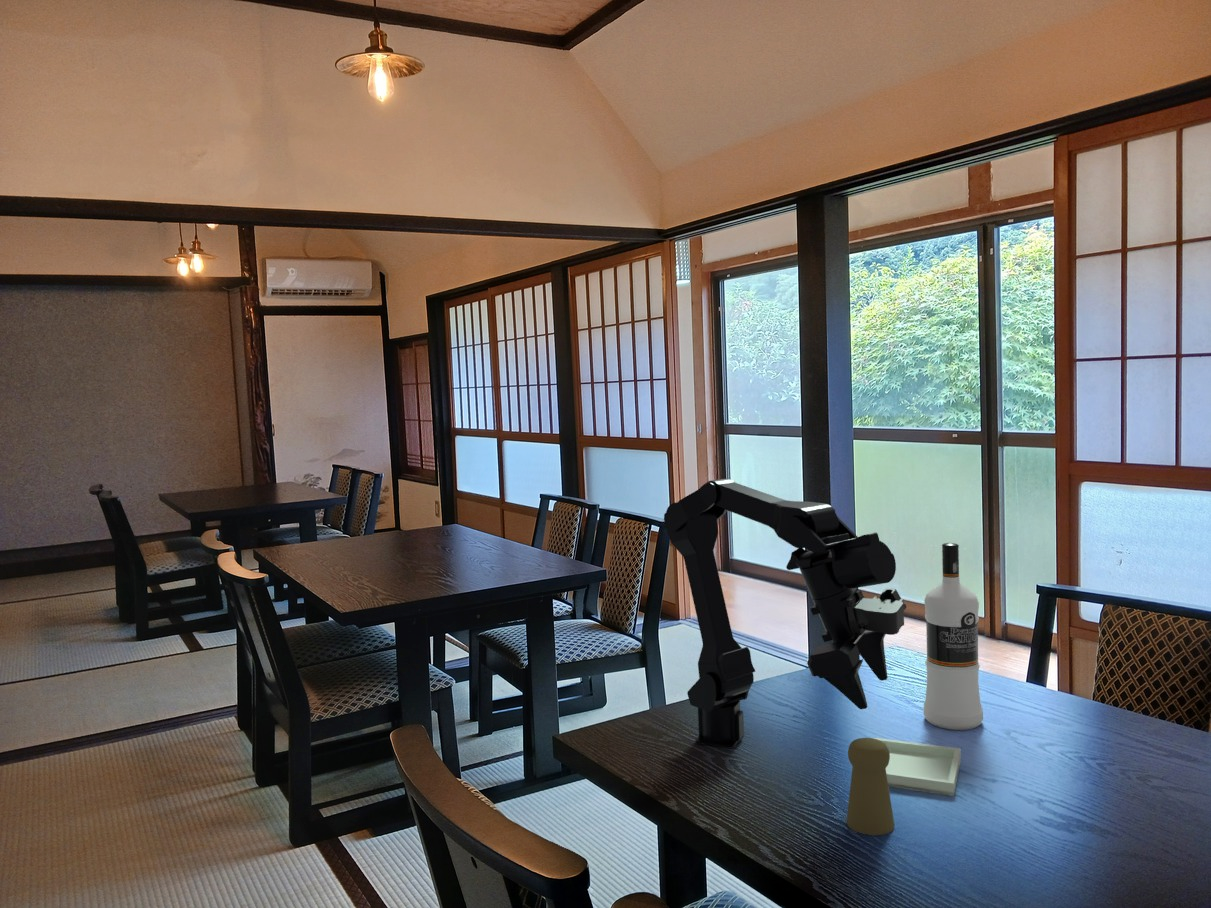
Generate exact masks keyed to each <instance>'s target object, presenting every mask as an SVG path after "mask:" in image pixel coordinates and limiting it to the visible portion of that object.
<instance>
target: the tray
mask: <svg viewBox="0 0 1211 908" xmlns="http://www.w3.org/2000/svg"><path fill="white" fill-rule="evenodd" d="M873 739H877V740H880V741H882V742H883V743H885V745H886V746H887V748H888V749H889V753H890V759H889V764H888V766H887V767H886V774H887V781H888V787H889V788H897V789H901V790H903V789H904V790H908V791H910V790H911V791H917V792H923V793H930V794H936V795H943V796H948V797H949V796H950V797H955V793H956V789H957V788H956V787H957V784H958V777H959V772H960V768H961V761H962V754H961V753H962V751H961V750H962V749H961V748H960V747H953V746H945V745H943V746H942V745H936V744H929V743H920V742H911V741H905V740H895V739H890V738H889V739H888V738H881V737H873Z"/></svg>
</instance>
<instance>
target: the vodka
mask: <svg viewBox="0 0 1211 908" xmlns="http://www.w3.org/2000/svg"><path fill="white" fill-rule="evenodd" d="M941 546H942V547H941V556H942V557H941V558H942V559H941V560H942V562H941V563H942V565H941V566H942V582H941V583H939V584H937V585H936V586H935V587H933V588H931V589H930V590H929V591H927V593H926V594H925V597H924V610H925V614H924V619H925V622H926V628H925V629H926V660H925V666H926V689H925V691H926V692H925V699H924V702H923V716H924V718H925V720H926V721H927V722H928V723H930V724H931V725H933V726H935V727H938V728H941V729H945V730H951V731H966V730H972V729H975V728H977V727H979V726H981V724H982V723H983V720H984V709H983V706H982V703H981V696H980V695H981V694H980V683H979V673H980V670H979V669H980V668H981V665H980V663H979V625H978V624H979V620H980V619H979V618H980V617H979V607H980V606H979V605H980V602H979V599H978V596H977V595H976V594H975V593H974V592H973V591H971V589H969V588H968V587H966V586H965V585H963V584H962V583H961V582H960V563H959V561H960V558H959V557H960V555H959V551H960V550H959V549H960V548H959V547H960V546H959V544H957V543H954V542H945V543H942V544H941Z"/></svg>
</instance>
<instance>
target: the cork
mask: <svg viewBox="0 0 1211 908" xmlns="http://www.w3.org/2000/svg"><path fill="white" fill-rule="evenodd" d="M847 758H848V760H849V763H850V765H851V766H852V769H851V777H850V786H849V795H848V803H847V812H846V821H845V822H846V825H847V827H848V828H849V829H851V830H853V831H854V832H856V833H858V832H859V834H862V833H863V834H862V835H866V834H868V835H867V836H882V835H887V834H889V833H891V832H893V830H894V829H895V820H894V819H895V818H894V815H893V814H894V813H893V808H892V807H893V806H892V802H891V796H890V795H891V794H890V787H888V781H887V774H886V767H887V766H888V764H889V759H890V753H889V749H888V748H887V746H886V745H885V743H883V742H882V741H880V740H877V739H874V737H872V738H871V737H860V738H857V739H854V740H853V741H851V742H850V744H849V745H848V750H847Z"/></svg>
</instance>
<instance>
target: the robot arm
mask: <svg viewBox="0 0 1211 908" xmlns="http://www.w3.org/2000/svg"><path fill="white" fill-rule="evenodd" d="M727 512H730V513H733V514H736V515H739V516H741V517H744V518H746V519H748V520H750V521H751V520H752V521H754V522H757V523H759V524H762V525H764V526H767V527H769V528H770V529H772V530H773V531H774V532H775V535H776V536H777V537H778V538H779V539H781V540H783V541H784V542H786V543H787V544H789V545H790V546H793V547H794V548H796V549H795V550H793V551H791V553H790V558H789V560H788V562H787V564H786V567H785V568H786V570H788V571H792V570H797V569H799V571H800V573H801V575H802V579H803V580H804V582H805V585H806V587H807V590H808V592H809V595H810V597H811V600H812V602H813V605H812V606H811V607H810V608H809V609H810V611H811V614H812V616H814V615H819V618H820V621H821V623H822V625H823V629H824V632H823V633H822V634H821V638H822V640H823V642H824V643H825V644H821V645H818V646H817V647H816V649H815V650H814V651H813V652H812V653H811V654H810V656H809V658H808V661H807V663H806V664H807V667H808V669H809V671H810V674H811V676H813V677H818V678H819V679H824V680H825V681H827V682H828V683H829V684H830V685H832V686H833V687H834V688H836V689H837V690H838V691H839V692H840V693H841V694H843V696H845V698H847V699H848V701H851V703H852V704H854V706H856V707H857V708H858V709H859V710H865V709H867V708H868V702H867V697H866V694H865V691H864V687H863V684H862V680H861V678H860V674H859V671H860V669H861V667H862V664H863V662H865V663H866V665H867V666H868V667H869V669H870V670H871V672H873V674H874V675H875V676H876V678H877V679H878V680H879V681H881V682H882V681H887V680H888V671H887V670H888V669H887V663H886V661H887V660H886V653H885V642H884V639H885V638H886V635H887V636H888V635H889V636H891V635H897V634H898V633H900V630H901V628H902V627H903V626H904V625H905V613H904V611H905V610H906V609H907V604H906V603H905V602H904V599H903V598H902V597H901V595H900V594H899V591H898V590H897V588H891V587H886V588H885V589H884V590H883V591H882V592H881V593H880V596H879V597H878V596H876V595H874V597H872V598H871V597H870V598H868V597H865V596H864V594H863V592H862V590H860V589H859V588H863V587H871V586H876V585H877V586H878V585H883V584H888V583H890V582H891V581H892V580H893V579H894V577H895V574H896V571H897V564H896V559H895V558H896V557H895V555H894V553H892V550H891V549H890V548H889V547H888V545H887V544H886V543H885V542H883V541H881V540H880V538H879V533H878V532H876V531H875V532H872V533H867V534H863V535H860V536H858V535H857V534H856V533H854V531H852V530H851V528H850V527H849V526H847V524H846V523H845V522H844V521H843V520H842V519H841V518H839V517H838V515H837V513H836V509H835V508H834V507H833V506H831V505H830V504H828V503H823V502H814V501H800V500H799V501H798V500H797V501H795V500H787V499H783V498H782V497H781V498H780V497H778V496H774V495H772V494H769V493H766V492H763V491H761V490H757V489H754V488H752V487H749V486H745V485H743V484H741V483H737V482H736V481H734V480H732V479H730V478H720V479H712V480H708V481H707V482H706V483H704V484H702V485H701V486H700V487H699V488H698V489H696V490H695V491H694V492H692V493H690V494H688V495H686V496H685V497H682V498H681V499H680V500H678V501H677V502H673V503H671V504H669V506H668V507H667V509H666V511H665V513H664V515H663V523H664V526H665V529H666V532H667V535H668V539H669V541H670V543H671V544H672V546H673V547H675V549H676V550H677V551H678V553H680V555H681V556H682V558H683V560H684V565H685V569H686V574H687V578H688V583H689V587H690V592H691V596H692V600H693V601H692V602H693V606H694V610H695V613H696V614H695V615H696V619H697V623H698V627H699V633H700V637H701V641H702V647H701V650H700V654H699V658H698V661H697V668H698V679H697V680H696V682H695V683H694V684H693V685H692V686H691V687H690V688H689V690H688V691H687V692H686V693H687V697H688V702H689V704H690V706H693V707H696V708H697V724H698V726H697V727H698V735H697V737H696V738H695V739H694V740H695V741H694V742H695V744H701V745H706V746H714V747H720V748H728V749H733V748H735V747H736V745H738V743H739V742H740V741H741V739H742V738H743V737H744V735H745V725H744V723H745V721H744V720H745V717H744V711H743V710H741V701H745V700H747V698H748V696H749V692H750V689H751V687H752V685H753V684H754V680H755V679H754V678H755V677H754V673H755V672H756V669H755V667H754V666H753V662H752V657H751V654H752V653H751V650H750V649H749V647H748V646H745V647H742V646H741V645H740V644H739V643H738V642H737V640H735V639H734V635H733V631H732V627H731V626H732V625H731V623H730V618H729V615H728V614H729V613H728V609H727V605H726V601H725V596H724V592H723V586H722V584H721V579H720V575H719V570H718V565H717V561H716V557H715V551H714V550H715V546H716V542H717V539H718V535H719V527H718V521H719V519H721V518H722V517H723V516H724V515H726V513H727ZM806 549H807V550H806ZM831 641H832V643H827V644H826V642H831ZM860 656H861V658H862V659H861V658H860Z"/></svg>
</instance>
